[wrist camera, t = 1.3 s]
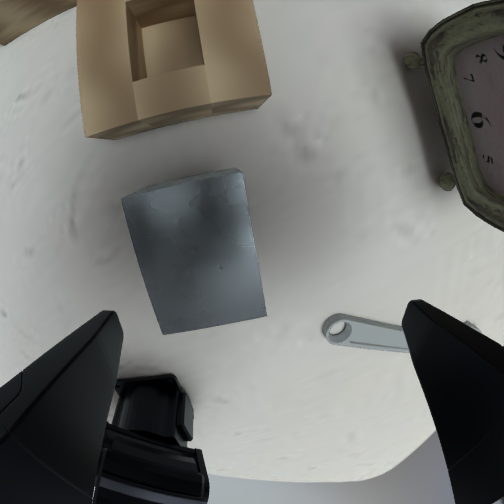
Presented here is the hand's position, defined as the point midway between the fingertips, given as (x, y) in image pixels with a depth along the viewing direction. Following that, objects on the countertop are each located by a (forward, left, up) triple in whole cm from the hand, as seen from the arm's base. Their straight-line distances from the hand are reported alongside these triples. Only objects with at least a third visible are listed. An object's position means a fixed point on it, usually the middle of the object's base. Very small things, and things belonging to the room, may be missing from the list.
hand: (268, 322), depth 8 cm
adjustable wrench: (+17, -16, -14) cm, 27 cm away
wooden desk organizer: (-2, +15, -13) cm, 20 cm away
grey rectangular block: (-2, 0, -13) cm, 13 cm away
